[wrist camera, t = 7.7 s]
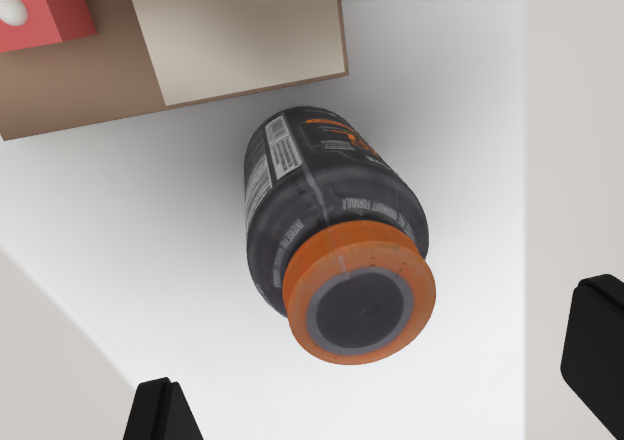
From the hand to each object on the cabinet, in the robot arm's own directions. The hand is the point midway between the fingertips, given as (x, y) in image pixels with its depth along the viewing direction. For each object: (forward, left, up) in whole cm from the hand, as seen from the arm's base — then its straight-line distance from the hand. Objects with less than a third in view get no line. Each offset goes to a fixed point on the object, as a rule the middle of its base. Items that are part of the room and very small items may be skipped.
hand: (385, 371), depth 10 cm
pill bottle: (-1, 0, -13) cm, 13 cm away
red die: (-10, -9, -13) cm, 18 cm away
